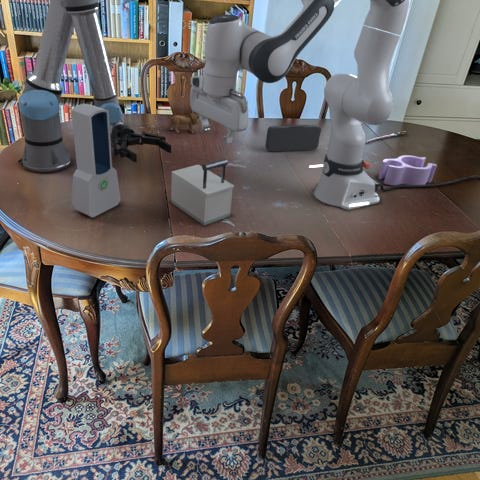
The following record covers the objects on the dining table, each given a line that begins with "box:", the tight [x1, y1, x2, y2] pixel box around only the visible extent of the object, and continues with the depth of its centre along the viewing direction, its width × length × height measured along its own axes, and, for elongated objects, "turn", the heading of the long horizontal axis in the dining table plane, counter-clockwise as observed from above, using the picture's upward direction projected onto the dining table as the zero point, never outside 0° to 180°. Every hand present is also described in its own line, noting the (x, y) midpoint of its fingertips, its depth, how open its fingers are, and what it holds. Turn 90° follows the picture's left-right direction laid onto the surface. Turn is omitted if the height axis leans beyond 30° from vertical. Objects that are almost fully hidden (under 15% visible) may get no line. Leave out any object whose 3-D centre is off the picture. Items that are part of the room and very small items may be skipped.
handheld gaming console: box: [264, 124, 322, 152], centre depth 189 cm, size 23×3×10 cm, turn 108°
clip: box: [377, 154, 438, 186], centre depth 174 cm, size 20×12×7 cm, turn 109°
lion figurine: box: [166, 111, 201, 134], centre depth 195 cm, size 15×5×9 cm, turn 110°
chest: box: [170, 173, 234, 226], centre depth 141 cm, size 16×10×10 cm, turn 42°
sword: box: [365, 132, 406, 144], centre depth 214 cm, size 31×3×1 cm, turn 126°
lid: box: [171, 158, 235, 196], centre depth 136 cm, size 17×10×8 cm, turn 42°
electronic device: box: [70, 103, 122, 218], centre depth 130 cm, size 12×8×30 cm, turn 148°
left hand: (153, 153), depth 155 cm, fingers open, 13 cm apart
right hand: (216, 136), depth 126 cm, fingers open, 8 cm apart
